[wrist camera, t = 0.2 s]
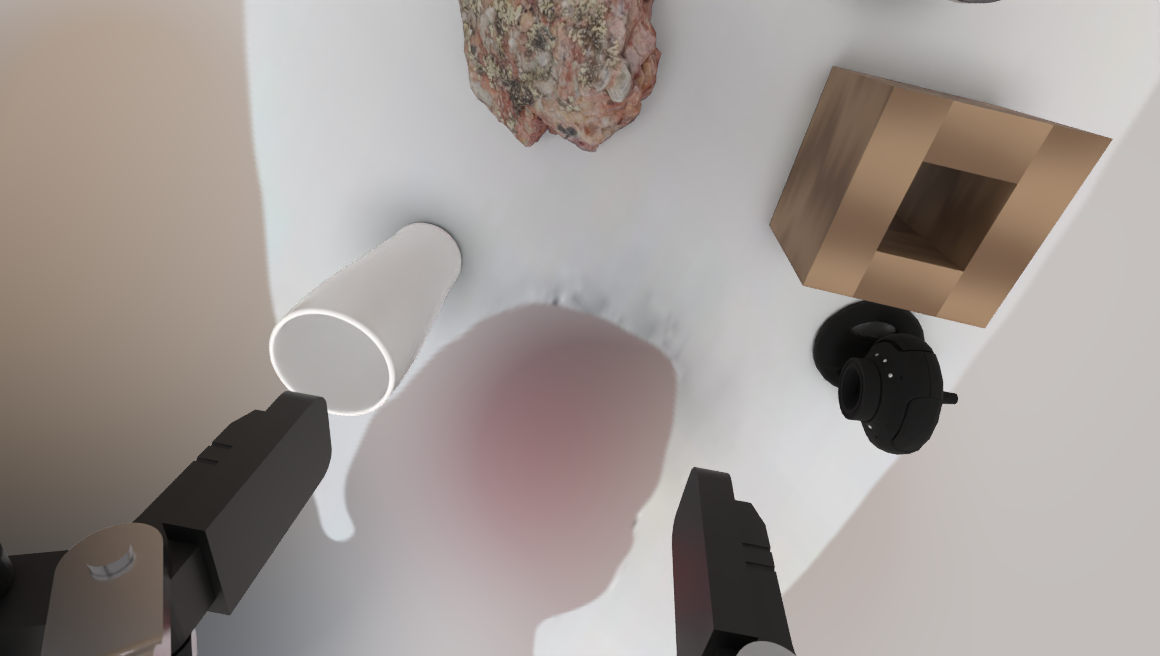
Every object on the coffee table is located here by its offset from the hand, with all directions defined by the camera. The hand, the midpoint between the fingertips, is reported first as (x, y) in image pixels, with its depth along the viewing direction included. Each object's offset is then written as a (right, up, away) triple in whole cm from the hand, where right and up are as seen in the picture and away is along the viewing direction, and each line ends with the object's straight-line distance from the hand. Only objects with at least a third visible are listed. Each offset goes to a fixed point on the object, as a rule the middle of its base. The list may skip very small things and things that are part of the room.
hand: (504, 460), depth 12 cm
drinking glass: (-9, +8, +30) cm, 32 cm away
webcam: (+23, +2, +30) cm, 37 cm away
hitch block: (+20, +13, +23) cm, 34 cm away
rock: (+2, +22, +21) cm, 30 cm away
